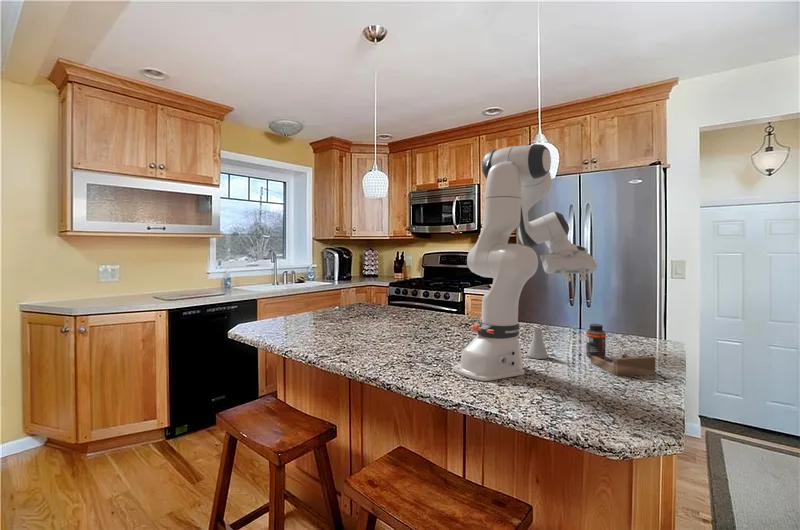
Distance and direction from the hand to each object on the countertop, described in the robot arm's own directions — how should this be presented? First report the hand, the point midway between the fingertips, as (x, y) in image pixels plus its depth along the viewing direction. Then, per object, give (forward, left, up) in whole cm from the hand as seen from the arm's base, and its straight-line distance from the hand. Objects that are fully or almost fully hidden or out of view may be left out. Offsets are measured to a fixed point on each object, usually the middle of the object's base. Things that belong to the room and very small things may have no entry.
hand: (576, 280), depth 147 cm
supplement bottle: (-6, -11, -26) cm, 28 cm away
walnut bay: (-12, -22, -25) cm, 36 cm away
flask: (-22, +1, -26) cm, 34 cm away
